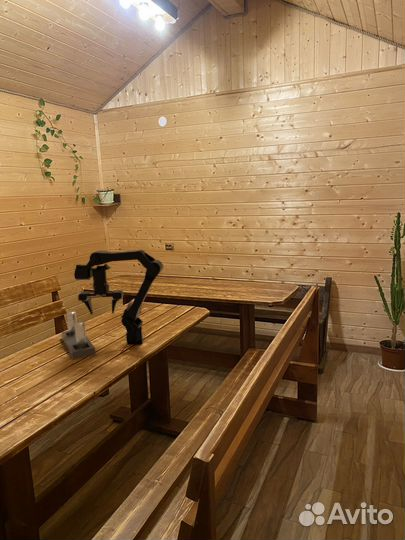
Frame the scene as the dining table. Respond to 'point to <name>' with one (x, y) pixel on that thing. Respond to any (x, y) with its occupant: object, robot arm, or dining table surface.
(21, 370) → the dining table surface
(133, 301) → the tin
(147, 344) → the dining table surface
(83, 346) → the cylinder
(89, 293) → the robot arm
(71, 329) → the billet
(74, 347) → the twin nest fixture
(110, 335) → the dining table surface
